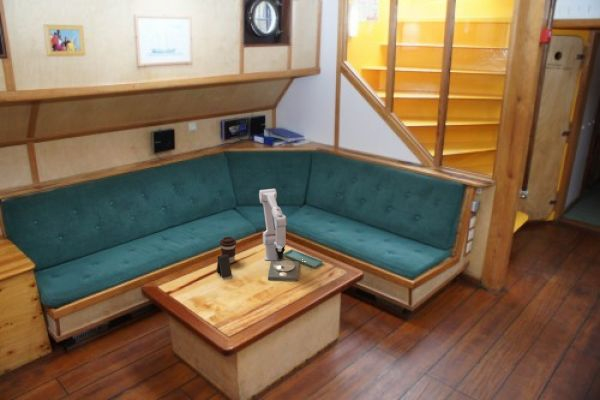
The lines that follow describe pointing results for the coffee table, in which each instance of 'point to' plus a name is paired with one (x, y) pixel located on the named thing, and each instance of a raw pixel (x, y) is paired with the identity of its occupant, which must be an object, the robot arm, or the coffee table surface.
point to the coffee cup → (228, 247)
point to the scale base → (283, 273)
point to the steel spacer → (279, 259)
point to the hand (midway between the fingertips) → (280, 257)
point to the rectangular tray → (299, 256)
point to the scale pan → (284, 266)
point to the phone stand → (224, 266)
